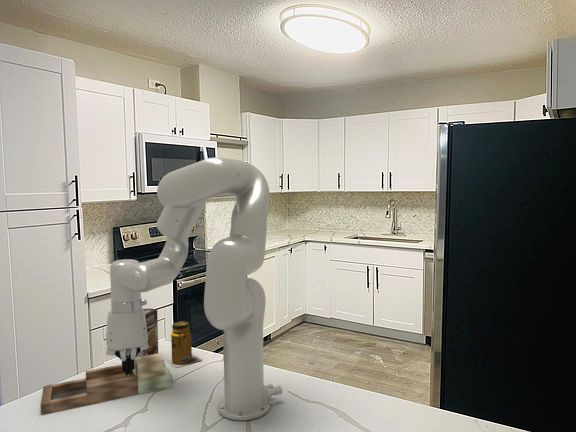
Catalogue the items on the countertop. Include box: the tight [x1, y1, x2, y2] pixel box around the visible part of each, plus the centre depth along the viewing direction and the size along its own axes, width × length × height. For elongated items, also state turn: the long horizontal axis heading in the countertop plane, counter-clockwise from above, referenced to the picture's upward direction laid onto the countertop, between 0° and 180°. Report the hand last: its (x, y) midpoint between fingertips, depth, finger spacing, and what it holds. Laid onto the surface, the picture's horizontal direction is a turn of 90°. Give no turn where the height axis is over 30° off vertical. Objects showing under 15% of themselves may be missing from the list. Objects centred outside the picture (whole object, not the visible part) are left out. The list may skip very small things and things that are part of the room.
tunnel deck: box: [40, 363, 174, 416], centre depth 113 cm, size 31×11×4 cm, turn 117°
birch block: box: [134, 352, 165, 380], centre depth 119 cm, size 7×6×4 cm
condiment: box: [167, 320, 202, 368], centre depth 133 cm, size 7×8×12 cm
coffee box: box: [125, 308, 160, 369], centre depth 131 cm, size 9×6×16 cm
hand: (128, 372), depth 116 cm, fingers closed
